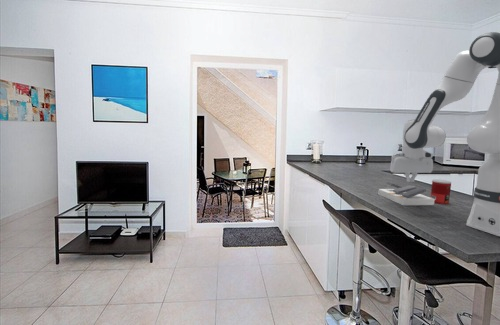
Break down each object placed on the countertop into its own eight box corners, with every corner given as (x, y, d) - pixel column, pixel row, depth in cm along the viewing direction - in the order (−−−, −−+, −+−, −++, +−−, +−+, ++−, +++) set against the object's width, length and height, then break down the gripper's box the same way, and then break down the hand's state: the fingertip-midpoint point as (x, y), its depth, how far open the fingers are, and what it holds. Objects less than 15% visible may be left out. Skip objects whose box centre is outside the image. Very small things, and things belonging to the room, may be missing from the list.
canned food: (448, 205, 140) (451, 183, 139) (429, 202, 145) (431, 180, 144) (449, 202, 146) (451, 180, 145) (430, 199, 151) (433, 178, 150)
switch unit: (433, 205, 140) (434, 198, 139) (403, 205, 138) (403, 198, 138) (404, 194, 162) (405, 188, 161) (378, 194, 160) (378, 188, 159)
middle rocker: (416, 189, 147) (416, 186, 147) (398, 193, 147) (398, 191, 146) (411, 187, 152) (410, 185, 152) (393, 191, 151) (393, 189, 151)
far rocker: (407, 191, 155) (408, 189, 155) (391, 185, 153) (392, 183, 153) (402, 189, 159) (402, 187, 159) (386, 183, 158) (387, 181, 157)
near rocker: (426, 191, 140) (425, 189, 140) (407, 198, 140) (407, 196, 140) (420, 189, 145) (419, 187, 145) (401, 196, 144) (401, 193, 144)
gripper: (395, 153, 135) (394, 183, 136) (436, 154, 137) (434, 182, 138) (388, 153, 141) (386, 181, 142) (426, 153, 143) (424, 180, 145)
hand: (410, 181), depth 140 cm, fingers closed
